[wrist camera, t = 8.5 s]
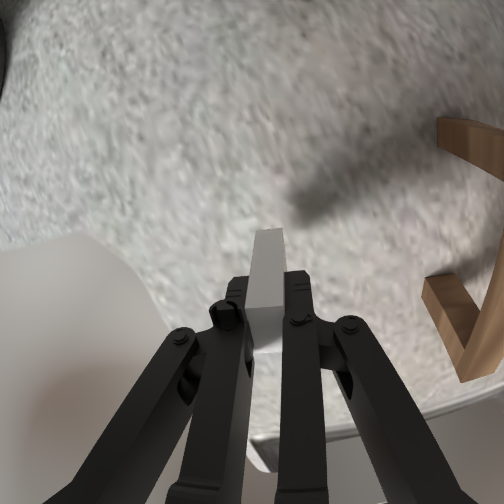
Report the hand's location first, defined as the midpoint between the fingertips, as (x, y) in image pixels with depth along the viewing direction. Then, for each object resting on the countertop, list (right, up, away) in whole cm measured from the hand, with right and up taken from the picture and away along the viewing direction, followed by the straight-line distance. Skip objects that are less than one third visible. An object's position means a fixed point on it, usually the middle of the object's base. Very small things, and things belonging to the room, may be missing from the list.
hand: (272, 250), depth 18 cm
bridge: (+13, +3, +1) cm, 14 cm away
